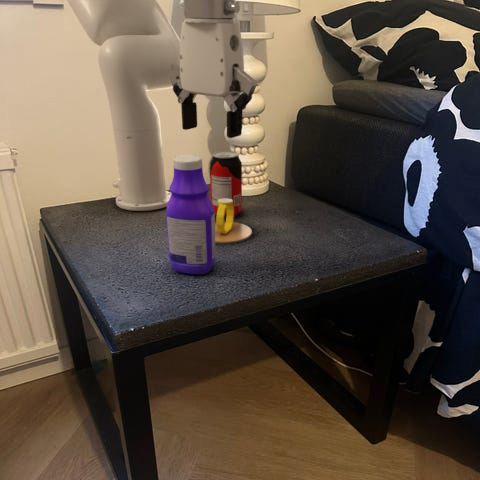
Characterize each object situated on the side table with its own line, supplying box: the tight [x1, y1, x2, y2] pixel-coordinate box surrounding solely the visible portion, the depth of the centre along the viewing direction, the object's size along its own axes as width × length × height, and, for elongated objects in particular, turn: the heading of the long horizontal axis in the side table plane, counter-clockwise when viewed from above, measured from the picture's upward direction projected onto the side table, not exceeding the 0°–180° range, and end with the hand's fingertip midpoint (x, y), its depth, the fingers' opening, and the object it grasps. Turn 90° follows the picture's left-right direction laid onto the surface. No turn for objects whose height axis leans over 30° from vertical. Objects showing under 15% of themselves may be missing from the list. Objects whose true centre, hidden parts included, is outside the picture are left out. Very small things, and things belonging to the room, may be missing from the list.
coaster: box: [215, 221, 253, 245], centre depth 89 cm, size 10×10×1 cm
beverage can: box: [209, 150, 243, 219], centre depth 95 cm, size 6×6×12 cm
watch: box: [215, 198, 235, 234], centre depth 87 cm, size 6×3×6 cm, turn 162°
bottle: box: [165, 154, 216, 275], centre depth 72 cm, size 7×6×17 cm
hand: (211, 132), depth 80 cm, fingers open, 9 cm apart
